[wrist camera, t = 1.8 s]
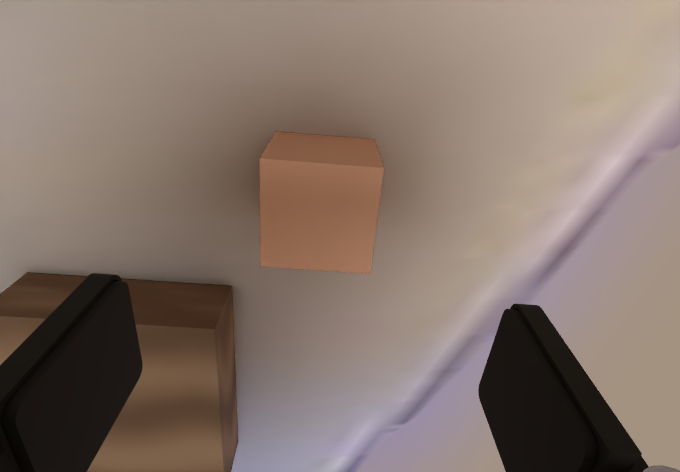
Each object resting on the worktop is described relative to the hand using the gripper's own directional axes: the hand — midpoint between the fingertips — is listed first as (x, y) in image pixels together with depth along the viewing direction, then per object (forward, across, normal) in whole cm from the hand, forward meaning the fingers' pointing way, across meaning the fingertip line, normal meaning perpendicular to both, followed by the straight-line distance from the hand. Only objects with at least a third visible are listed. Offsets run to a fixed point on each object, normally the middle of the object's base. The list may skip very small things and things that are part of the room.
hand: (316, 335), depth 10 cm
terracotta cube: (+13, 0, +1) cm, 13 cm away
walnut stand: (+12, +11, +15) cm, 22 cm away
